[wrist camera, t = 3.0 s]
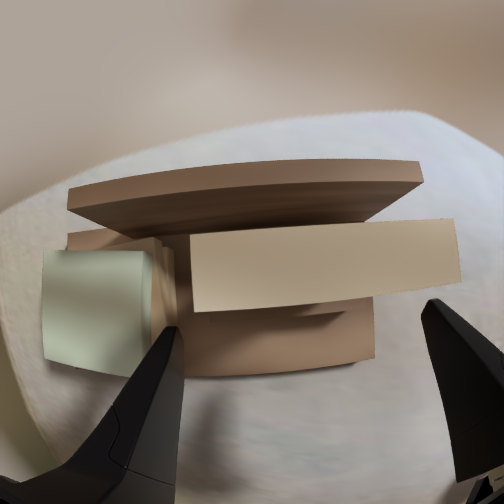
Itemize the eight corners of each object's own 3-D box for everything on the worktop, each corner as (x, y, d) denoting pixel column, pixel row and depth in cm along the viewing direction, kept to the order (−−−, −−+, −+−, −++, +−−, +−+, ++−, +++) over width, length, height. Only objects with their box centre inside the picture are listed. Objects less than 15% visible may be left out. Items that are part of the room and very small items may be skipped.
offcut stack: (186, 360, 18) (166, 380, 13) (81, 355, 18) (46, 367, 13) (177, 243, 19) (155, 230, 14) (74, 253, 19) (37, 244, 14)
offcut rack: (367, 353, 19) (438, 392, 10) (85, 364, 19) (6, 394, 10) (355, 212, 20) (418, 161, 11) (77, 236, 20) (-4, 208, 11)
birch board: (330, 287, 18) (461, 281, 5) (237, 295, 18) (193, 312, 5) (328, 264, 18) (453, 218, 6) (235, 272, 18) (189, 235, 6)
